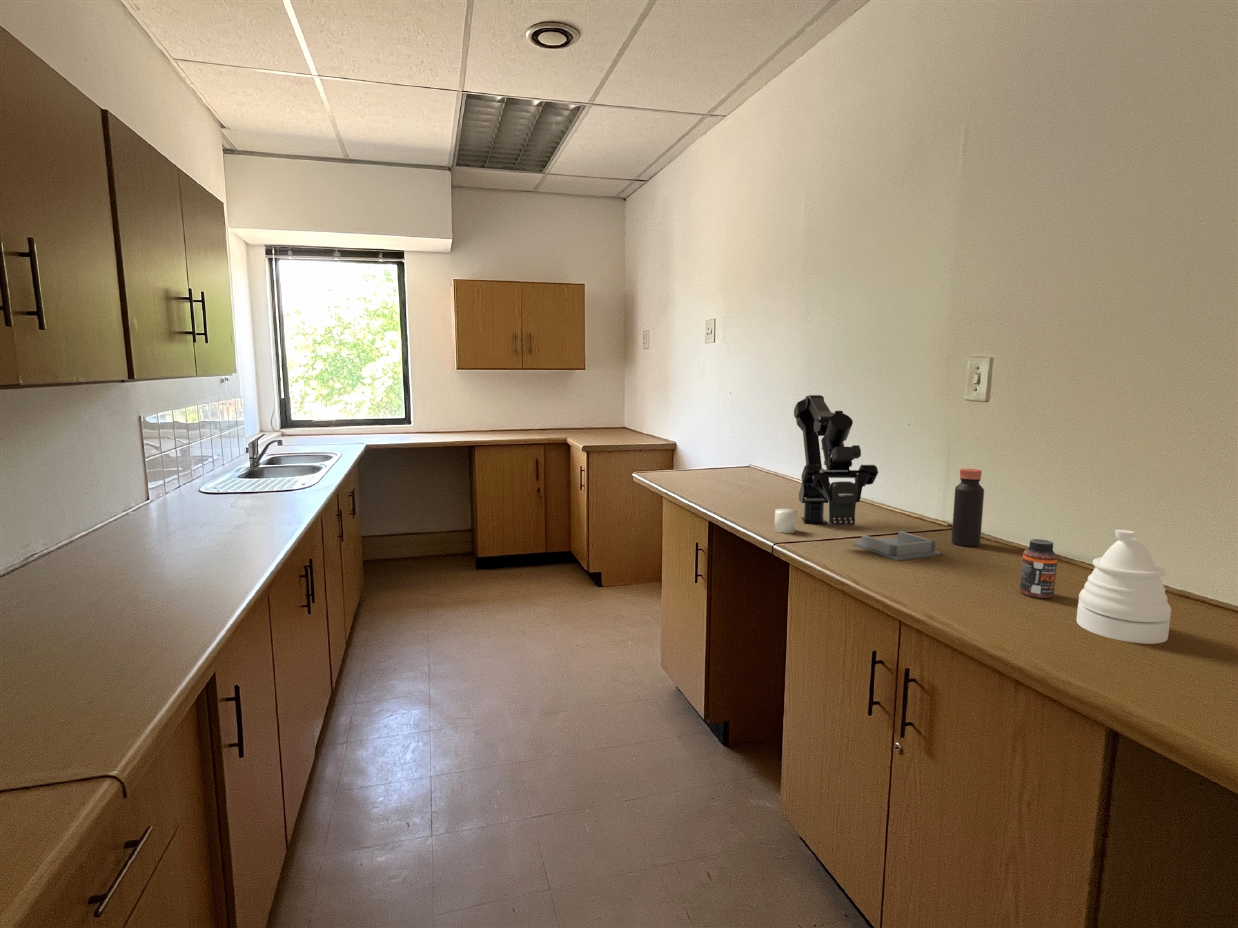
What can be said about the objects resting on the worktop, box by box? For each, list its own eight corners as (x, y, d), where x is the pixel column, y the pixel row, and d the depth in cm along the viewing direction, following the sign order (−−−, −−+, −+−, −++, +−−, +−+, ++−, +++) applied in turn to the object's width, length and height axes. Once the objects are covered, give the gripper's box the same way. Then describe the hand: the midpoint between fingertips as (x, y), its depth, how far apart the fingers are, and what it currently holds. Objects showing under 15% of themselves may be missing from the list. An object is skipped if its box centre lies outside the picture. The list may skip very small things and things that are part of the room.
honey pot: (1140, 648, 105) (1152, 543, 102) (1060, 621, 117) (1069, 525, 114) (1184, 635, 110) (1197, 534, 108) (1103, 611, 122) (1113, 519, 119)
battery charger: (830, 526, 165) (832, 483, 163) (826, 523, 169) (828, 481, 167) (858, 526, 164) (859, 483, 163) (853, 523, 168) (855, 480, 167)
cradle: (852, 544, 170) (852, 533, 170) (893, 539, 175) (894, 528, 174) (897, 560, 155) (897, 548, 155) (941, 554, 160) (942, 542, 159)
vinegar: (982, 548, 166) (988, 472, 163) (953, 546, 168) (958, 471, 165) (977, 541, 172) (982, 468, 169) (949, 539, 174) (954, 467, 171)
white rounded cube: (773, 528, 189) (774, 508, 188) (794, 528, 188) (794, 508, 187) (775, 533, 183) (776, 512, 182) (797, 533, 182) (797, 513, 181)
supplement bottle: (1043, 601, 127) (1048, 546, 125) (1013, 592, 132) (1017, 539, 131) (1060, 596, 130) (1065, 542, 128) (1030, 588, 135) (1034, 536, 133)
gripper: (805, 434, 168) (814, 483, 158) (877, 434, 166) (890, 483, 157) (797, 459, 176) (805, 507, 167) (866, 459, 175) (878, 507, 166)
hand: (844, 501), depth 164 cm, fingers closed on battery charger, 7 cm apart
